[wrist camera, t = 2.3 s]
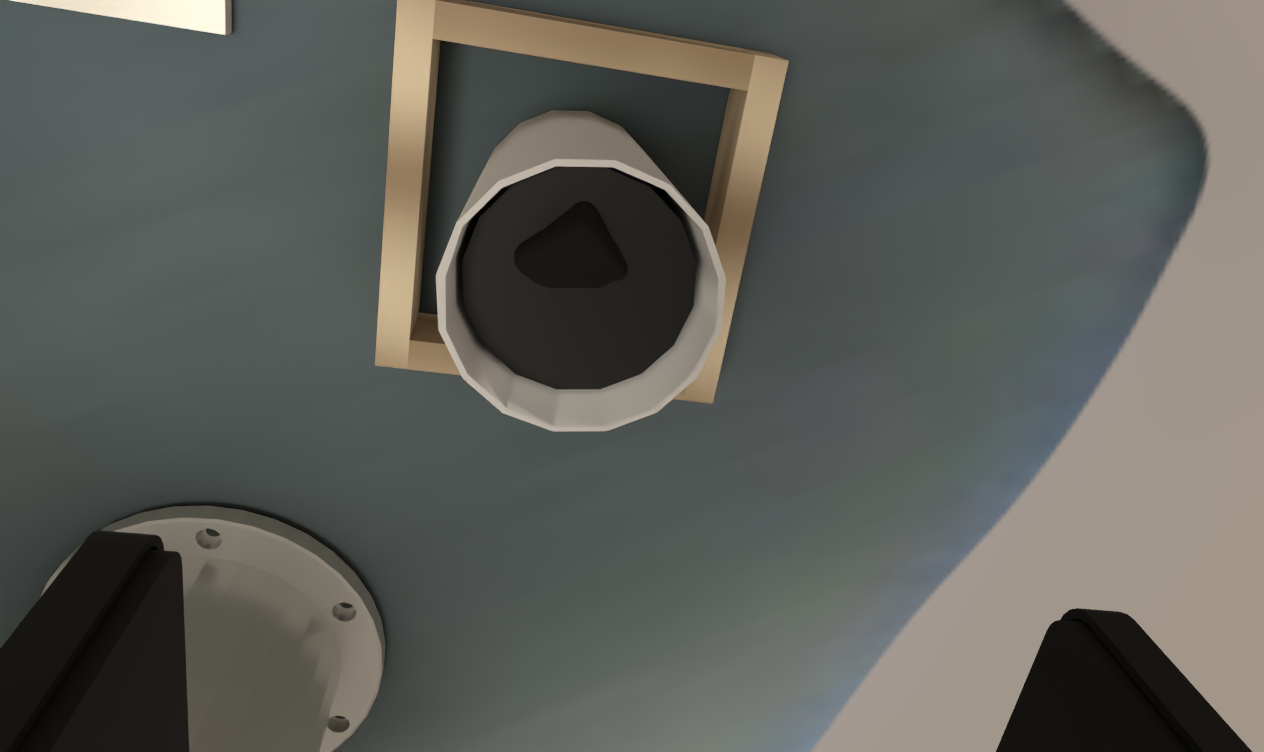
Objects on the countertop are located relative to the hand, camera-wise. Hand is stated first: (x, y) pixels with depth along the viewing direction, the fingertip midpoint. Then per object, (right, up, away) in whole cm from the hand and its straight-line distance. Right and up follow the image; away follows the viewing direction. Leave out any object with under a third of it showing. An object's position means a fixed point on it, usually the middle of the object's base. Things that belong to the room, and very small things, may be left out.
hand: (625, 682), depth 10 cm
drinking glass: (-2, +9, +20) cm, 23 cm away
